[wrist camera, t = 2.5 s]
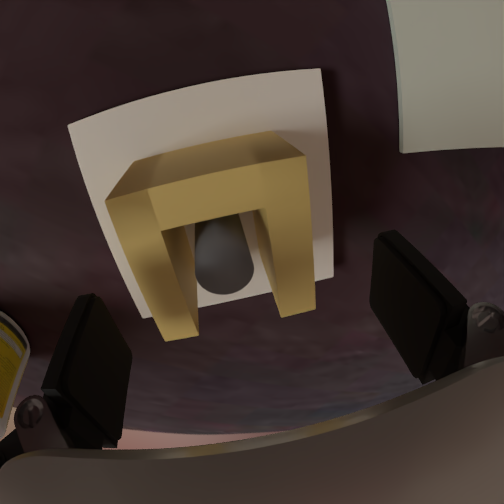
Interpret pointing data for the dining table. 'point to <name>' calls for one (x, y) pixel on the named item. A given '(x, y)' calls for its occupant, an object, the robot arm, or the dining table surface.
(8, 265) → the dining table surface
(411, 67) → the mat
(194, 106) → the stand
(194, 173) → the c link
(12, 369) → the pill bottle
